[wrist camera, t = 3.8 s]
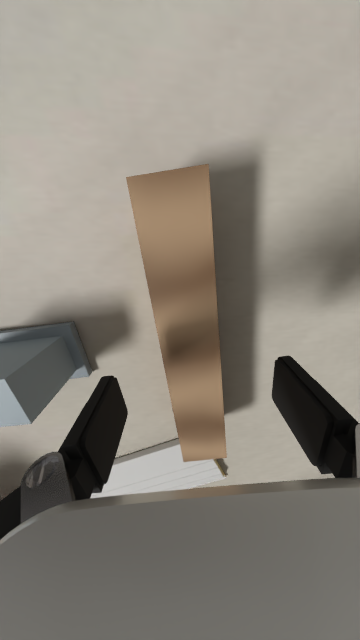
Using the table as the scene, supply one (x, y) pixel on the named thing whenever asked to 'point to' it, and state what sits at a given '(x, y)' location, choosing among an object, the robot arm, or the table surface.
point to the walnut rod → (184, 300)
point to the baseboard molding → (158, 472)
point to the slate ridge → (37, 368)
